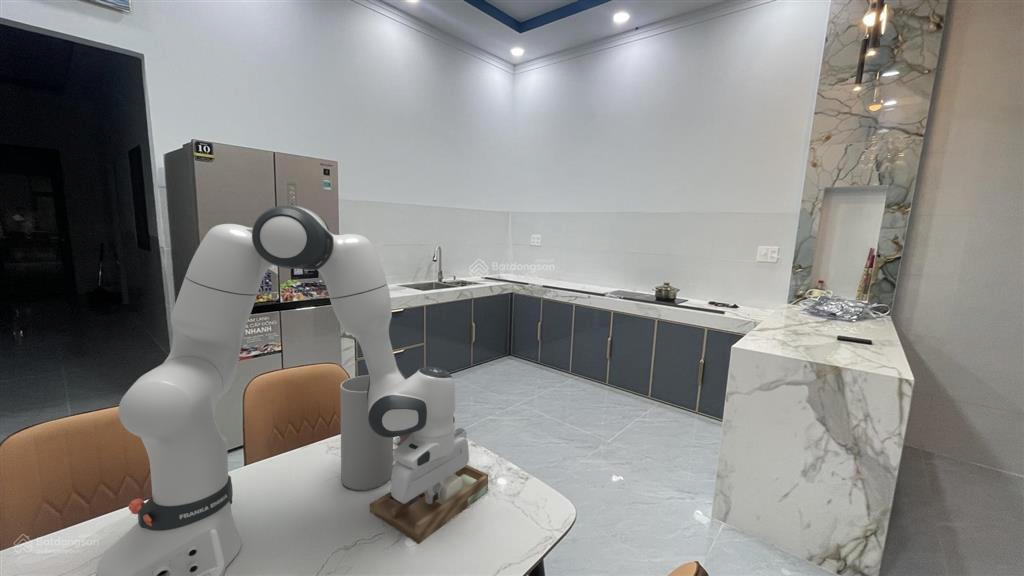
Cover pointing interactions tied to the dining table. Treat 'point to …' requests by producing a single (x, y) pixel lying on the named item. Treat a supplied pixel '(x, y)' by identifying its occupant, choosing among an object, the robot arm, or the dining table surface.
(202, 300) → the robot arm
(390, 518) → the box
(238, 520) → the dining table surface
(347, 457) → the cylinder vase
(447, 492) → the block
